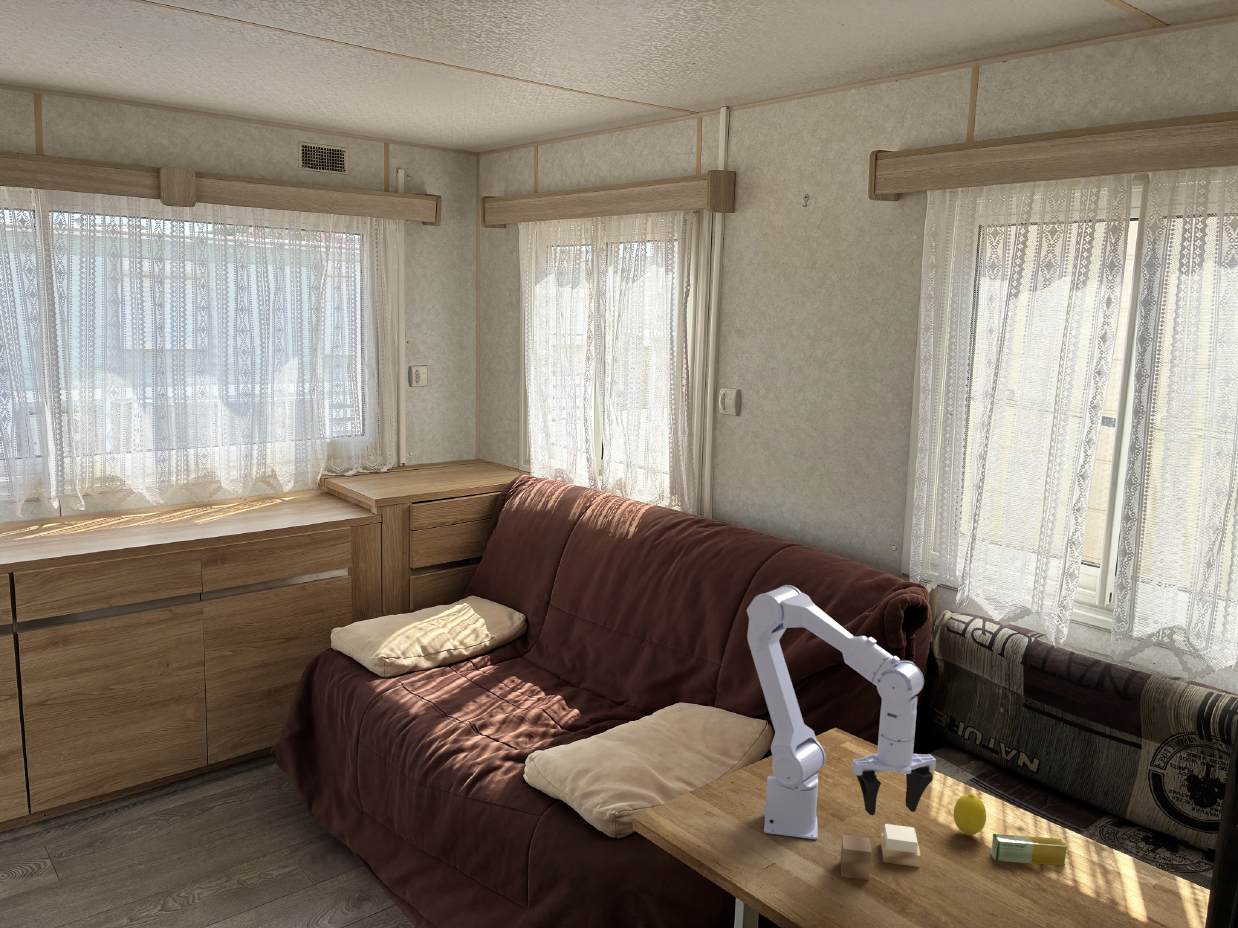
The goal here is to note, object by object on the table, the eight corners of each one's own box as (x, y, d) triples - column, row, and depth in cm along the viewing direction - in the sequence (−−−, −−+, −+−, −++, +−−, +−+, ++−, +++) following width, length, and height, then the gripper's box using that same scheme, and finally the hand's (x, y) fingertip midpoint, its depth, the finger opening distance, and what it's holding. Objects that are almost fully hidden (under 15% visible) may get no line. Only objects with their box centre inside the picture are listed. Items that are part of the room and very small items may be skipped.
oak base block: (883, 864, 159) (884, 850, 159) (880, 845, 165) (881, 832, 165) (919, 869, 158) (920, 855, 158) (915, 850, 164) (916, 837, 164)
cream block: (886, 849, 159) (887, 838, 159) (884, 833, 164) (884, 823, 164) (916, 853, 158) (917, 842, 158) (913, 837, 163) (914, 827, 163)
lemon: (986, 845, 166) (990, 803, 164) (954, 840, 167) (957, 799, 166) (981, 829, 171) (984, 788, 170) (949, 825, 172) (953, 784, 171)
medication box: (994, 862, 161) (997, 840, 160) (989, 853, 163) (991, 832, 163) (1065, 867, 160) (1068, 845, 159) (1059, 858, 163) (1061, 836, 162)
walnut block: (841, 876, 154) (843, 848, 154) (840, 861, 159) (842, 834, 158) (869, 880, 154) (871, 852, 153) (867, 865, 158) (869, 837, 157)
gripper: (868, 747, 150) (862, 825, 152) (948, 742, 153) (941, 819, 155) (848, 729, 157) (842, 804, 159) (925, 724, 160) (919, 798, 162)
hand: (890, 810), depth 158 cm, fingers open, 7 cm apart
